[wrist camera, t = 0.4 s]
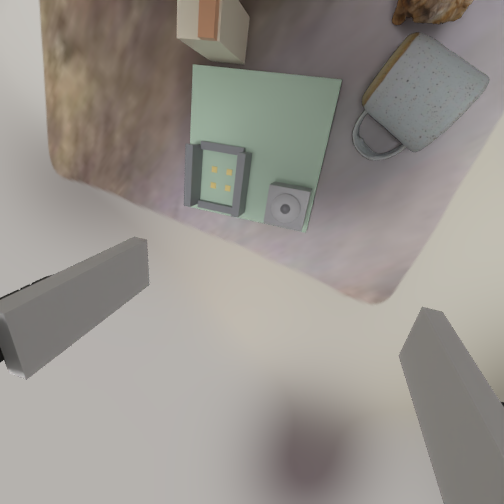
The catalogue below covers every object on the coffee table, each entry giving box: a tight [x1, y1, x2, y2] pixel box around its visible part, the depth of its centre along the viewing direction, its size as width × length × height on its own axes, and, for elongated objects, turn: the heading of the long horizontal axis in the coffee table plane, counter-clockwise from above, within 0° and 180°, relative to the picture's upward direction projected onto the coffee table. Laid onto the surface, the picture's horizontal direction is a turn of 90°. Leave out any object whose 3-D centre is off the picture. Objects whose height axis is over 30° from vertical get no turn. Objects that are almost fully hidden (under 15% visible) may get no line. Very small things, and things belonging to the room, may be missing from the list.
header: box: [184, 141, 252, 217], centre depth 35 cm, size 9×8×3 cm
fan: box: [263, 181, 312, 231], centre depth 34 cm, size 5×5×4 cm
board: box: [190, 64, 342, 233], centre depth 35 cm, size 18×18×1 cm
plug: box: [177, 0, 250, 64], centre depth 27 cm, size 4×4×9 cm
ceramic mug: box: [353, 32, 489, 160], centre depth 26 cm, size 11×8×8 cm
